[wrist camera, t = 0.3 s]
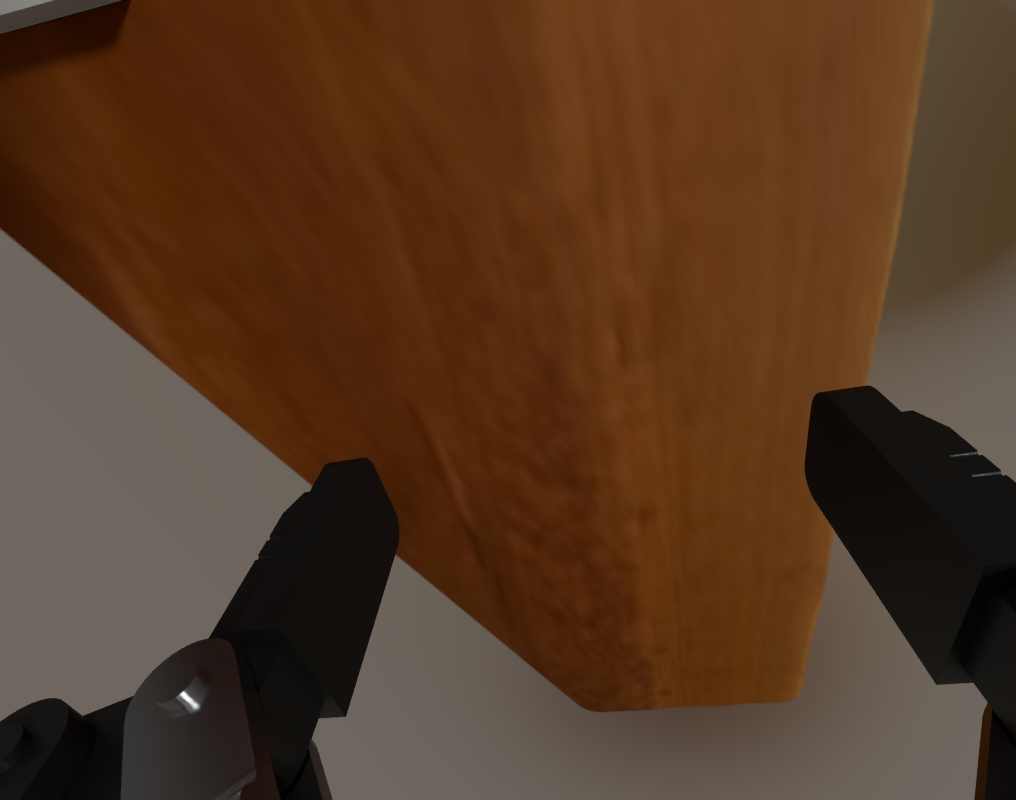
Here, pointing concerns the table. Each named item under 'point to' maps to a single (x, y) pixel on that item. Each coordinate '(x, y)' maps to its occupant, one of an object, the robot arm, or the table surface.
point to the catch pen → (41, 11)
